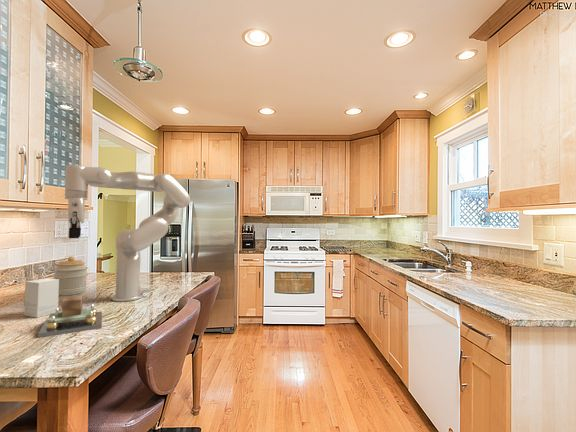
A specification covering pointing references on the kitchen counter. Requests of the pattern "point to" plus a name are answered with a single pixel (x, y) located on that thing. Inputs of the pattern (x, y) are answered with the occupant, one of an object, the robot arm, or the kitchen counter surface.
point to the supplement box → (41, 297)
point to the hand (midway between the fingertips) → (74, 237)
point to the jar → (71, 276)
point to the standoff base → (71, 324)
